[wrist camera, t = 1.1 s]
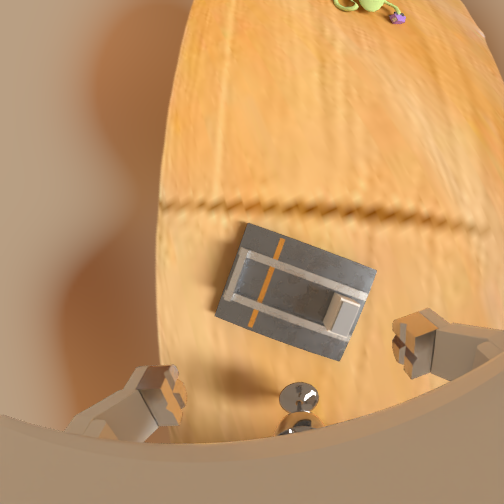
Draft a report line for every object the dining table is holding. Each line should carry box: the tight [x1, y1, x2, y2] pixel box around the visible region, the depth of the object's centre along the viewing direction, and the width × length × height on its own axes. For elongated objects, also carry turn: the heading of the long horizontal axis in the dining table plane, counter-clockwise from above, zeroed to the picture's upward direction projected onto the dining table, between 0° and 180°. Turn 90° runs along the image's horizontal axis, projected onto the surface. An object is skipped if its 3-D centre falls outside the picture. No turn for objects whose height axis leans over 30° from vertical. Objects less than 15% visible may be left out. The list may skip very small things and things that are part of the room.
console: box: [215, 223, 377, 361], centre depth 43 cm, size 22×16×5 cm
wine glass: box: [273, 382, 325, 437], centre depth 38 cm, size 8×8×15 cm
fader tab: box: [323, 292, 360, 338], centre depth 39 cm, size 3×5×7 cm, turn 160°
